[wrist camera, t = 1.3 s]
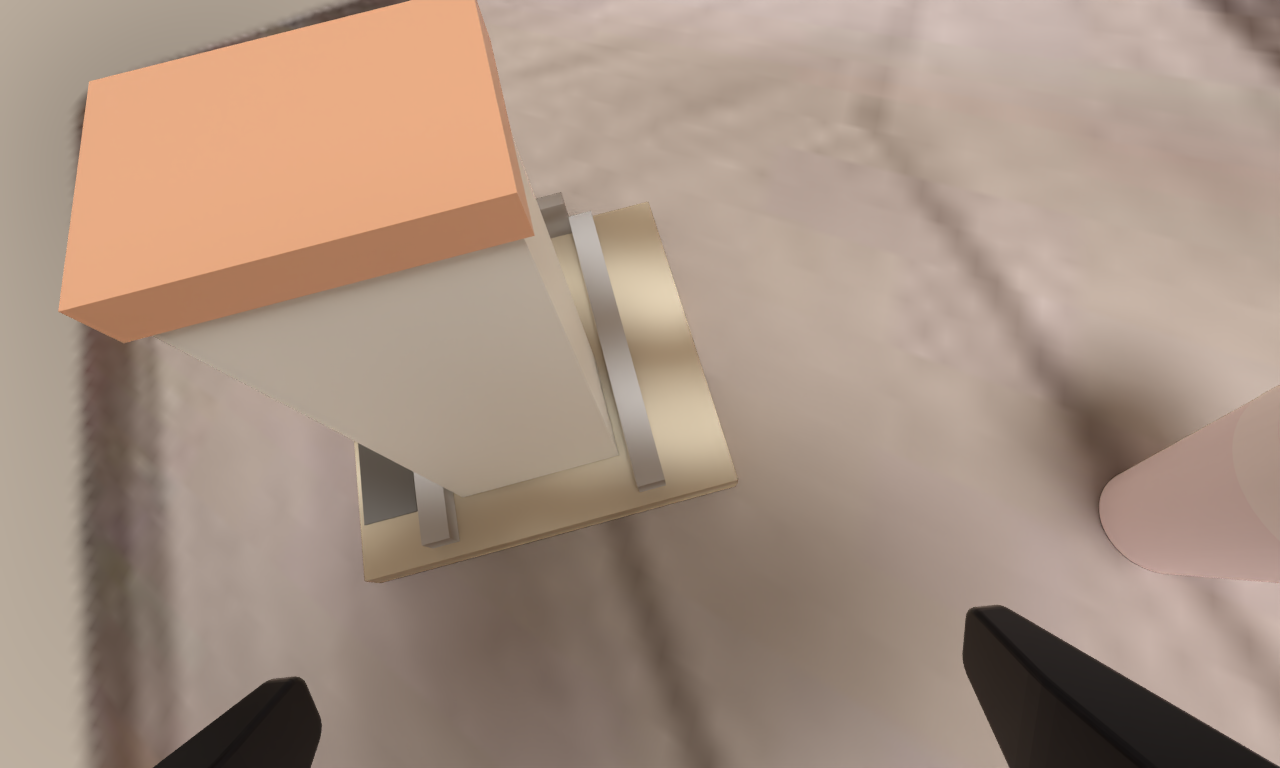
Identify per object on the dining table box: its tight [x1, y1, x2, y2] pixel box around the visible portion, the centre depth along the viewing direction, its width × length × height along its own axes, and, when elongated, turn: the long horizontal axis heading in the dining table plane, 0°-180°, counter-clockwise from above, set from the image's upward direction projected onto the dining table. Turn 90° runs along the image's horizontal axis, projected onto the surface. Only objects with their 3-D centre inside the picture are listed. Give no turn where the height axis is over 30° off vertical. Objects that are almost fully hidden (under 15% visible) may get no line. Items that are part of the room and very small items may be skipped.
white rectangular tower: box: [59, 0, 619, 497], centre depth 16 cm, size 4×6×15 cm
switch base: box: [354, 192, 738, 583], centre depth 24 cm, size 13×14×3 cm
